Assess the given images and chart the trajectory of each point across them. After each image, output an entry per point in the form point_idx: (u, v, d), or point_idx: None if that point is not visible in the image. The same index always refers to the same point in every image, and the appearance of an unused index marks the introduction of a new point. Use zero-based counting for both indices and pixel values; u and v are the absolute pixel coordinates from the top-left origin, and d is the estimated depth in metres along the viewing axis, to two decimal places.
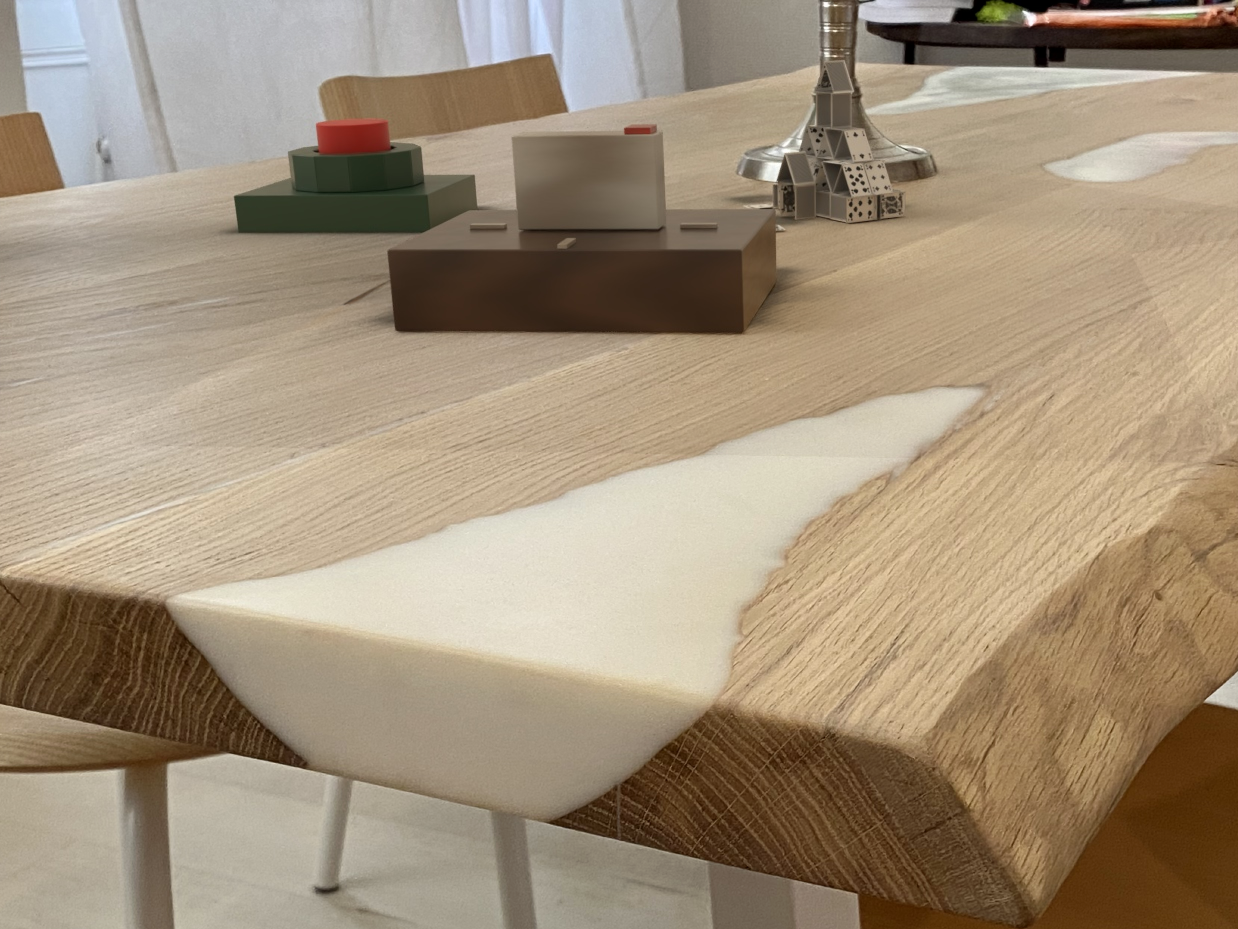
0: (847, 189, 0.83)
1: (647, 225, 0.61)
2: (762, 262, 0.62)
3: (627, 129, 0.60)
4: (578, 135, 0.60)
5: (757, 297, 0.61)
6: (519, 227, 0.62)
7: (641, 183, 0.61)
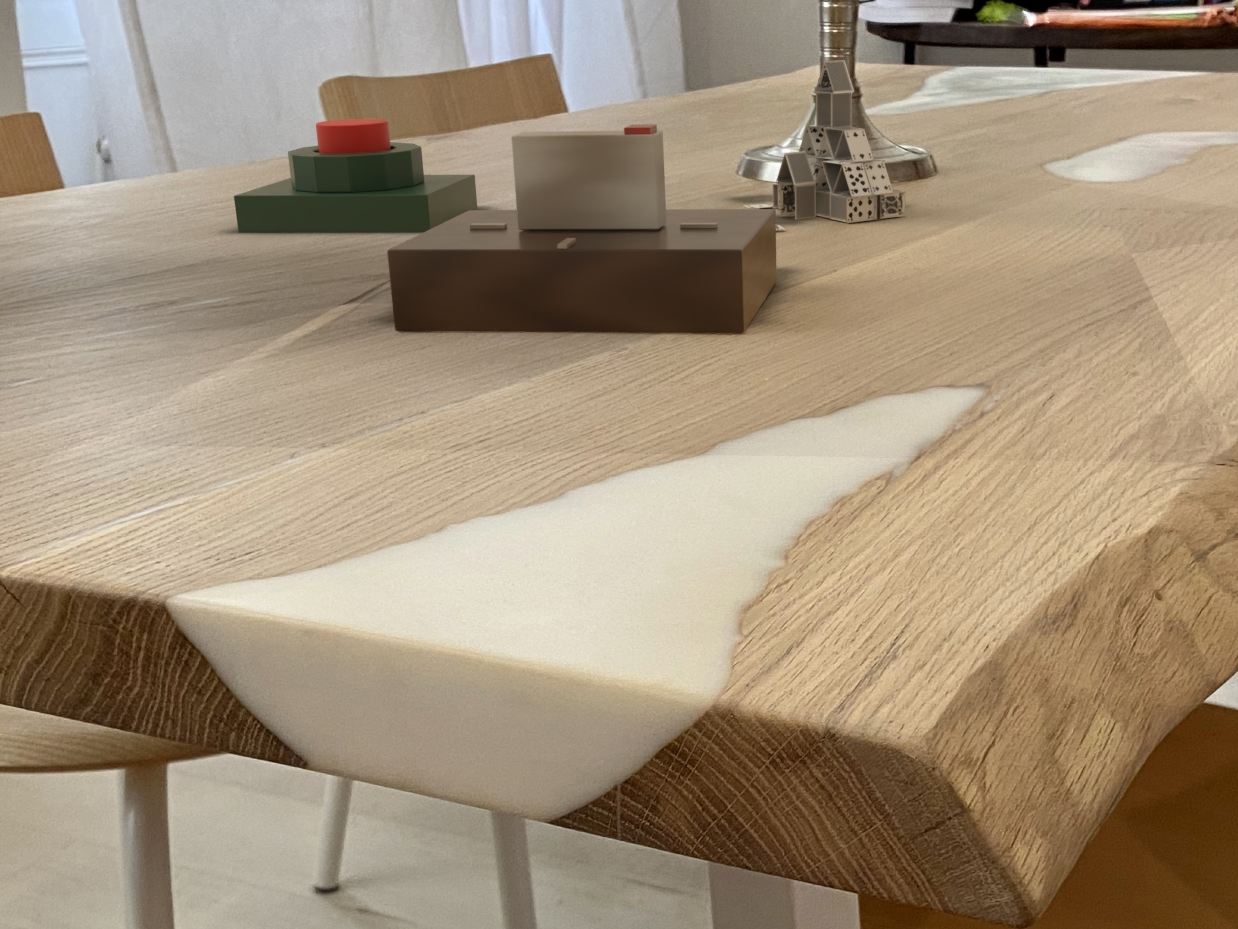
0: (847, 189, 0.83)
1: (647, 225, 0.61)
2: (762, 262, 0.62)
3: (627, 129, 0.60)
4: (578, 135, 0.60)
5: (757, 297, 0.61)
6: (519, 227, 0.62)
7: (641, 183, 0.61)
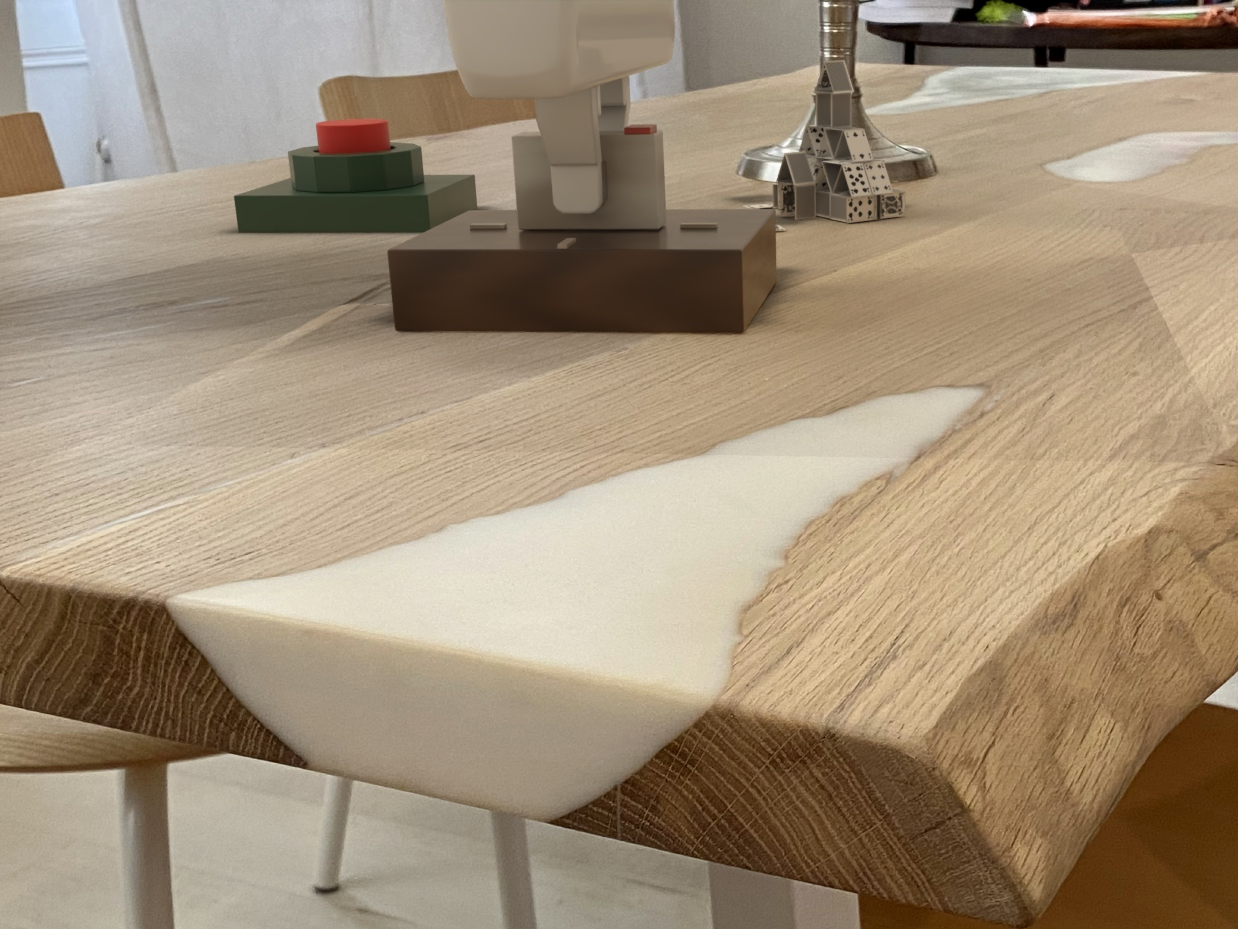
0: (847, 189, 0.83)
1: (647, 225, 0.61)
2: (762, 262, 0.62)
3: (627, 129, 0.60)
4: None
5: (757, 297, 0.61)
6: (519, 227, 0.62)
7: (641, 183, 0.61)
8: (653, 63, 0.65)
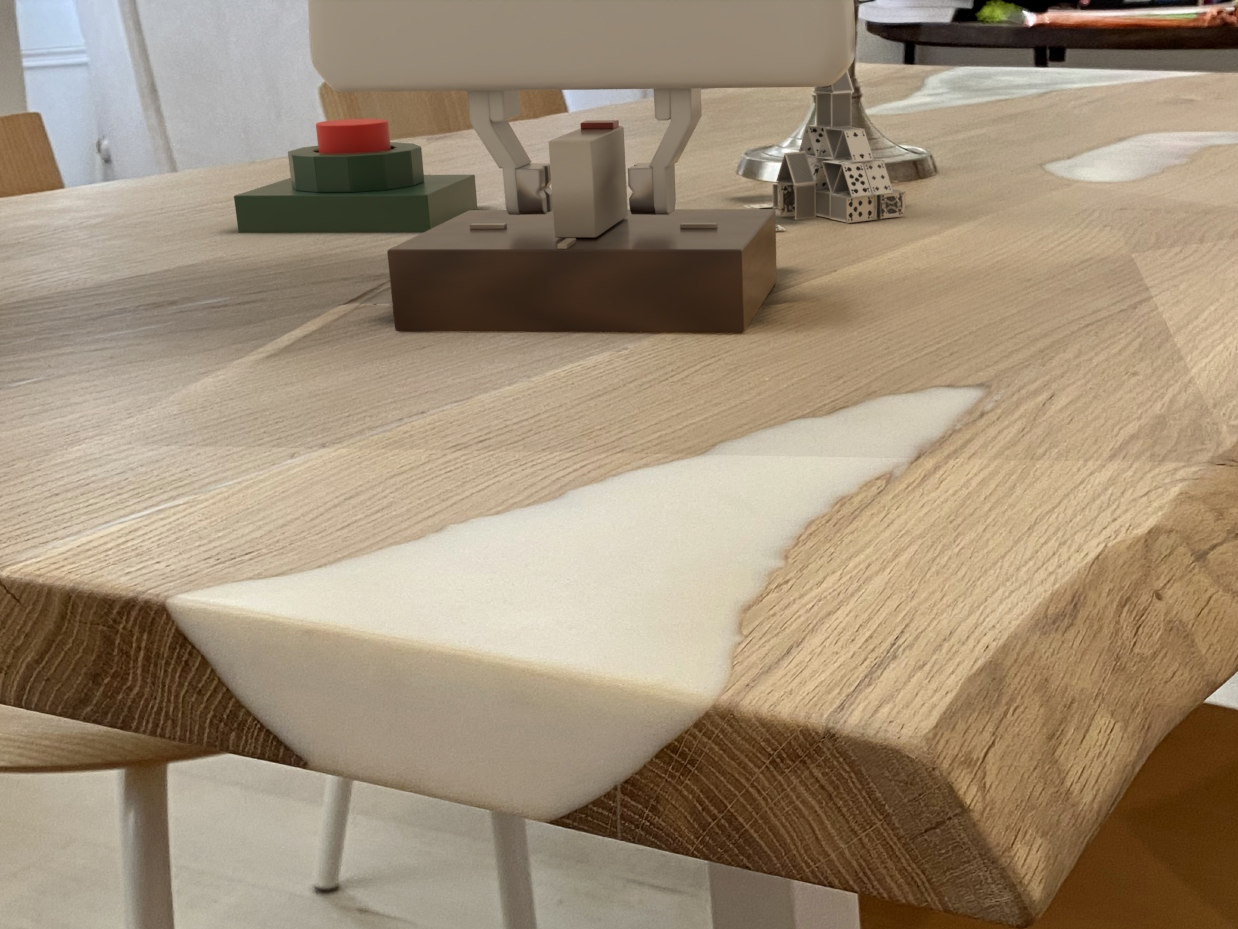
0: (847, 189, 0.83)
1: (625, 213, 0.64)
2: (762, 262, 0.62)
3: (614, 124, 0.62)
4: (604, 133, 0.61)
5: (757, 297, 0.61)
6: (595, 235, 0.60)
7: (622, 173, 0.63)
8: None
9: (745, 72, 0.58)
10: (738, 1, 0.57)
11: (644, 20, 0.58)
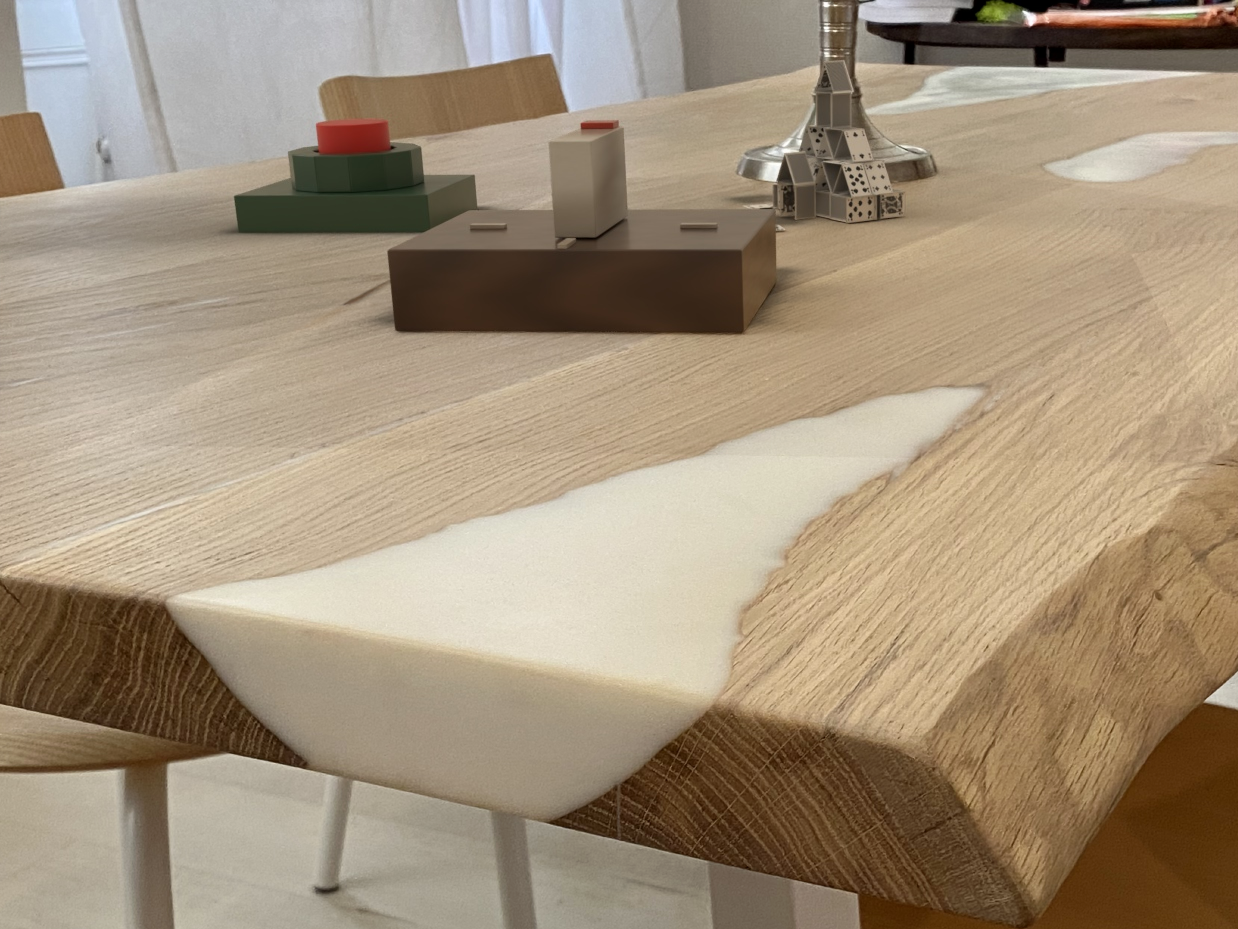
0: (847, 189, 0.83)
1: (625, 213, 0.64)
2: (762, 262, 0.62)
3: (614, 124, 0.62)
4: (604, 133, 0.61)
5: (757, 297, 0.61)
6: (595, 235, 0.60)
7: (622, 173, 0.63)
8: None
9: None
10: None
11: None
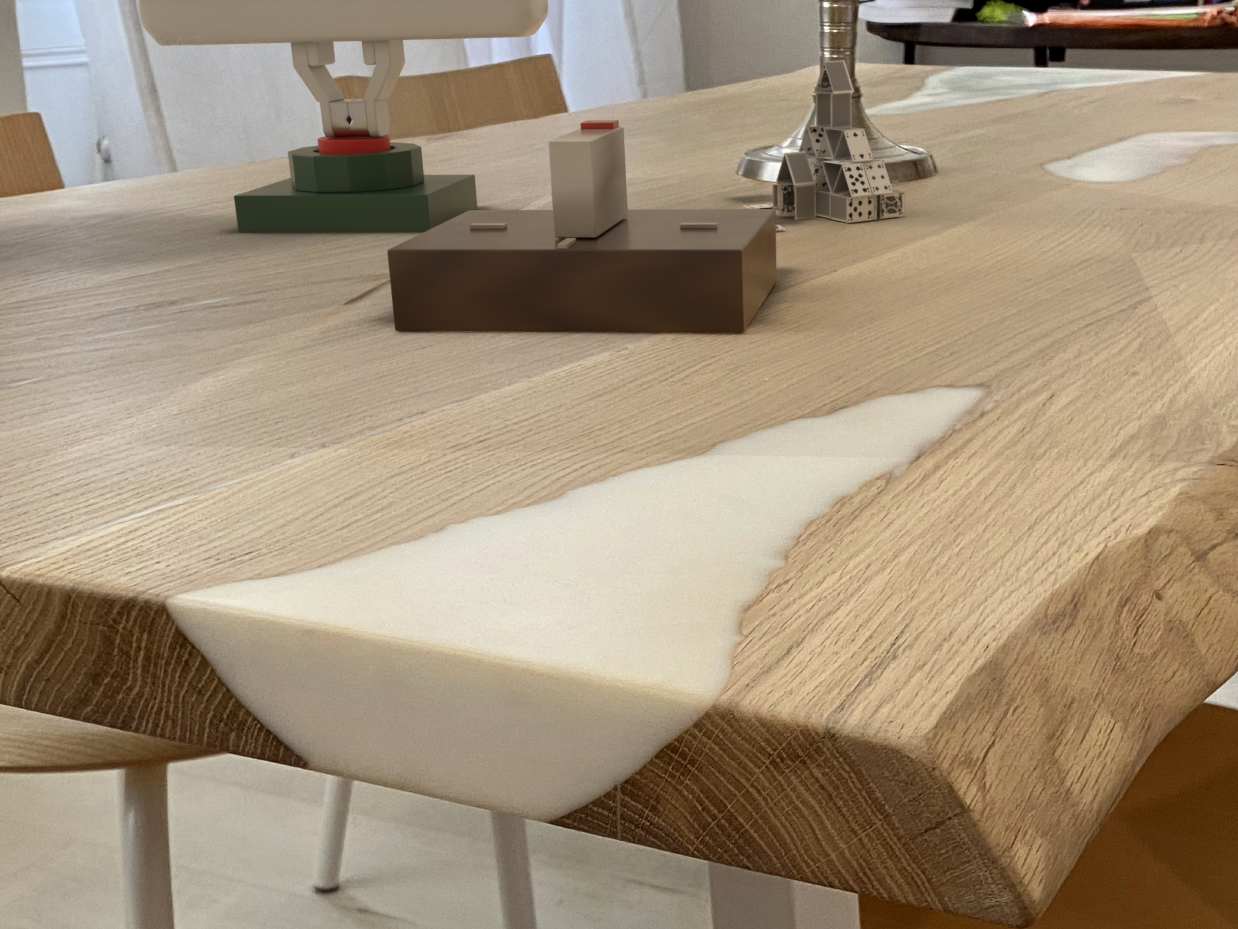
0: (847, 189, 0.83)
1: (625, 213, 0.64)
2: (762, 262, 0.62)
3: (614, 124, 0.62)
4: (604, 133, 0.61)
5: (757, 297, 0.61)
6: (595, 235, 0.60)
7: (622, 173, 0.63)
8: None
9: (458, 27, 0.78)
10: None
11: None
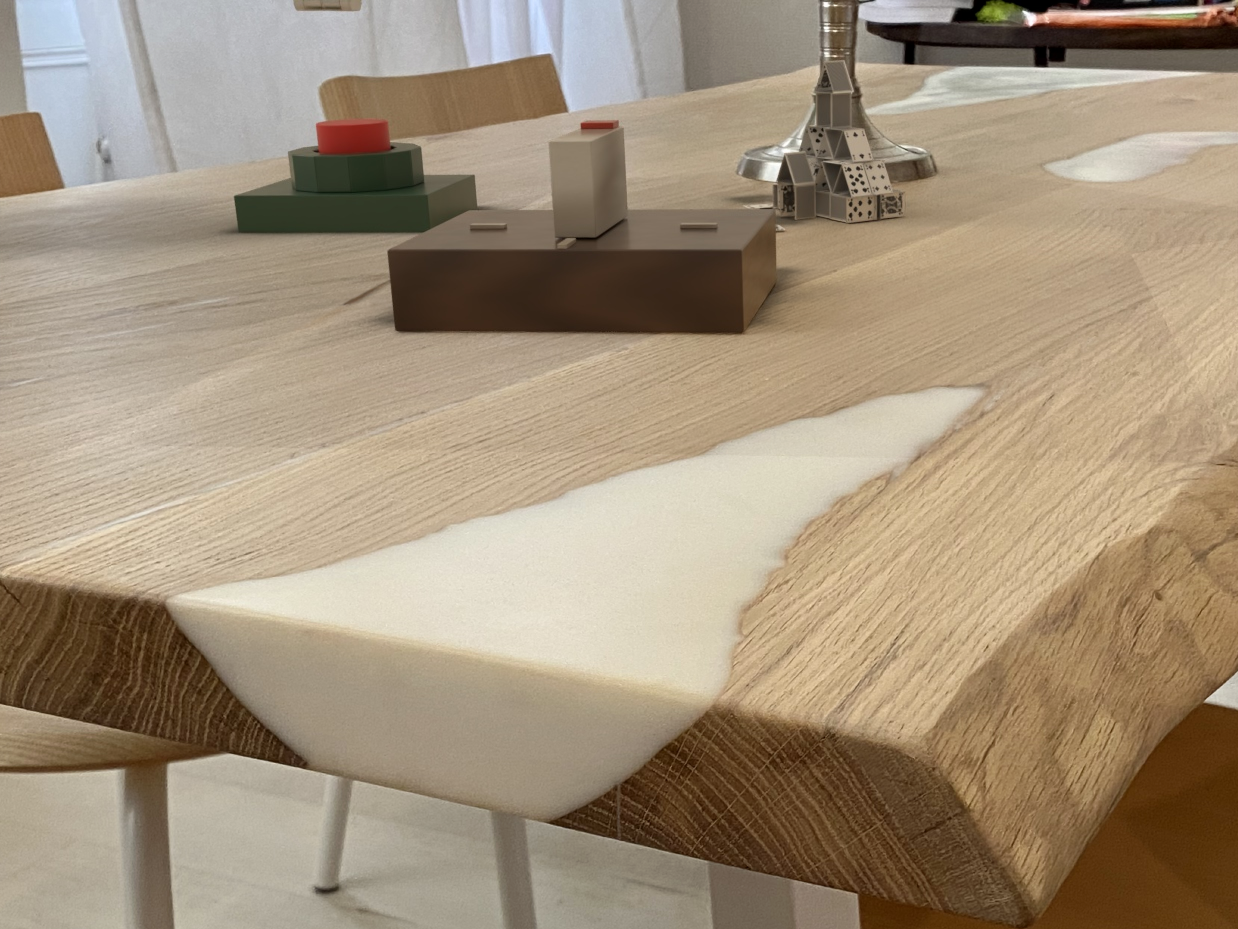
0: (847, 189, 0.83)
1: (625, 213, 0.64)
2: (762, 262, 0.62)
3: (614, 124, 0.62)
4: (604, 133, 0.61)
5: (757, 297, 0.61)
6: (595, 235, 0.60)
7: (622, 173, 0.63)
8: None
9: None
10: None
11: None
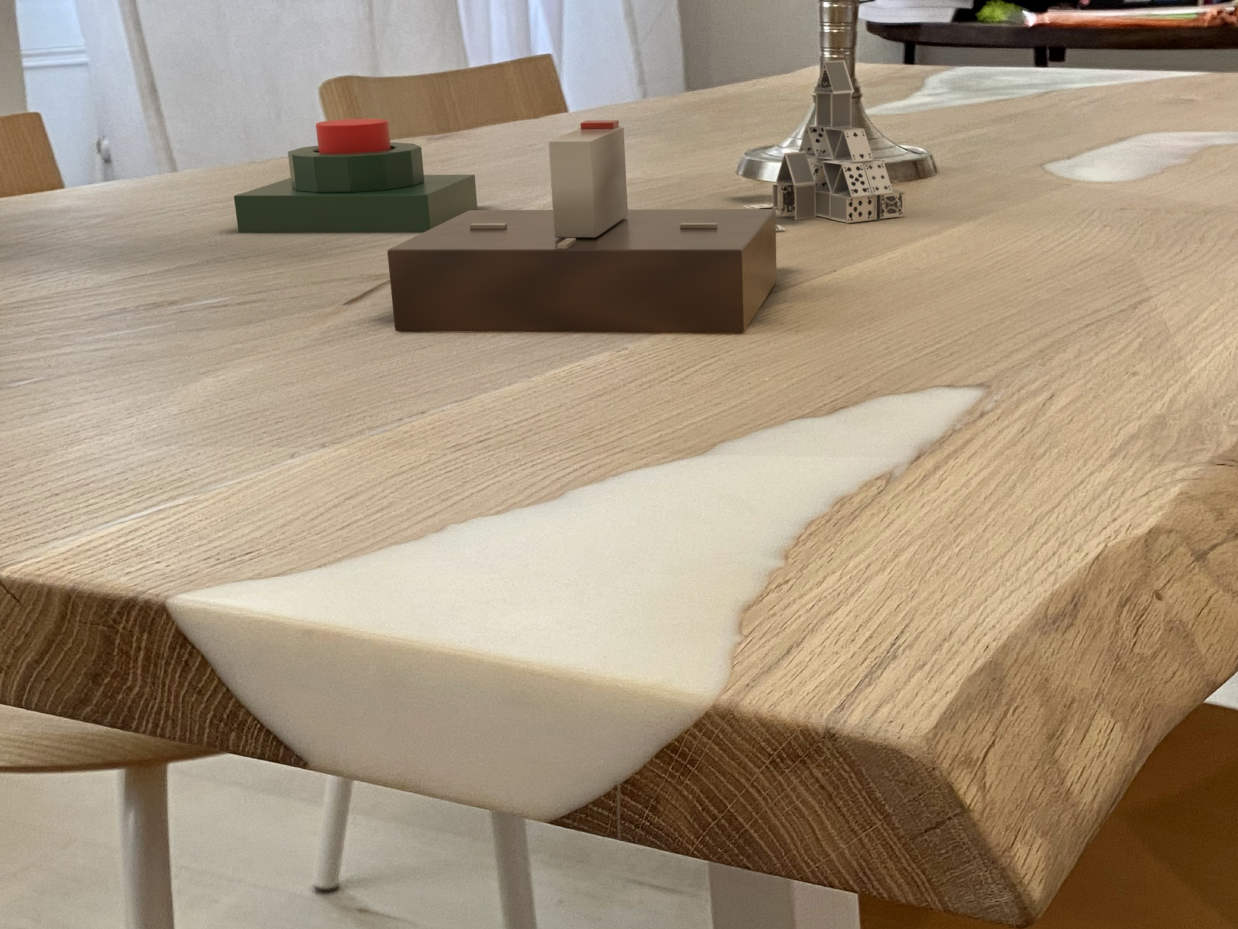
0: (847, 189, 0.83)
1: (625, 213, 0.64)
2: (762, 262, 0.62)
3: (614, 124, 0.62)
4: (604, 133, 0.61)
5: (757, 297, 0.61)
6: (595, 235, 0.60)
7: (622, 173, 0.63)
8: None
9: None
10: None
11: None
